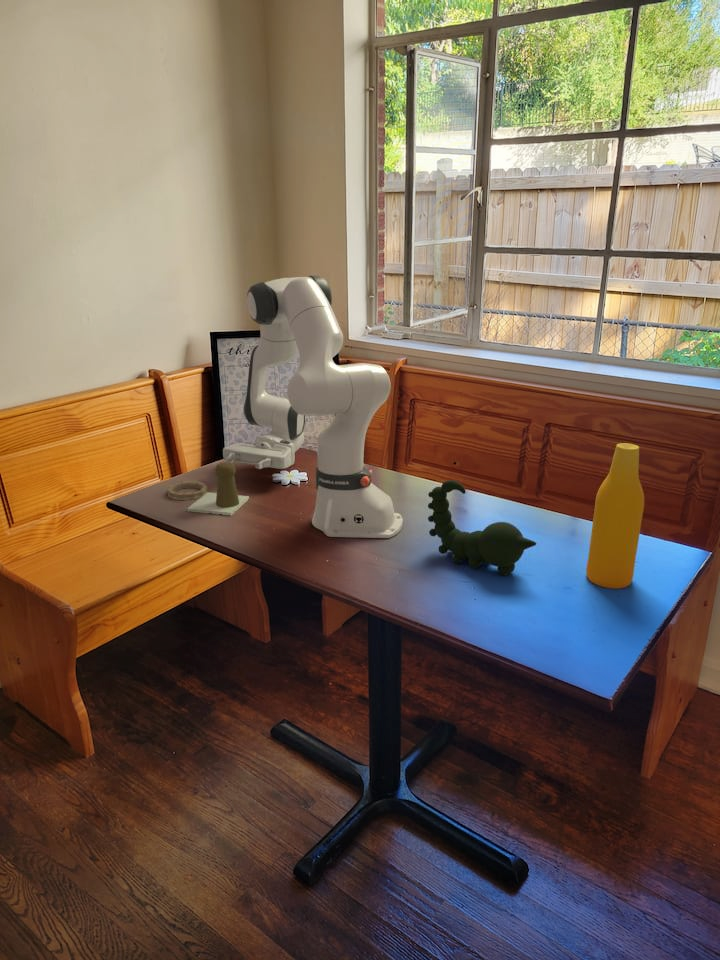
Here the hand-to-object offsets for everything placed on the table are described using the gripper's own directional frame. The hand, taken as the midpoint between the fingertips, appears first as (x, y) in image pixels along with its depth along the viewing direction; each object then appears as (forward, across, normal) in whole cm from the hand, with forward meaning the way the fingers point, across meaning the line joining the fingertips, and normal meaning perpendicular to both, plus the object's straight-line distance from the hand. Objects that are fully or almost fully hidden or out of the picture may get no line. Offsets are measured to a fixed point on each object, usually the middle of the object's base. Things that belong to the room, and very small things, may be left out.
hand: (242, 463), depth 189 cm
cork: (+12, +3, +7) cm, 14 cm away
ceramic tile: (+12, 0, +8) cm, 14 cm away
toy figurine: (+18, +71, +8) cm, 74 cm away
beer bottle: (+13, +98, +8) cm, 99 cm away
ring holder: (+8, -13, +8) cm, 17 cm away
